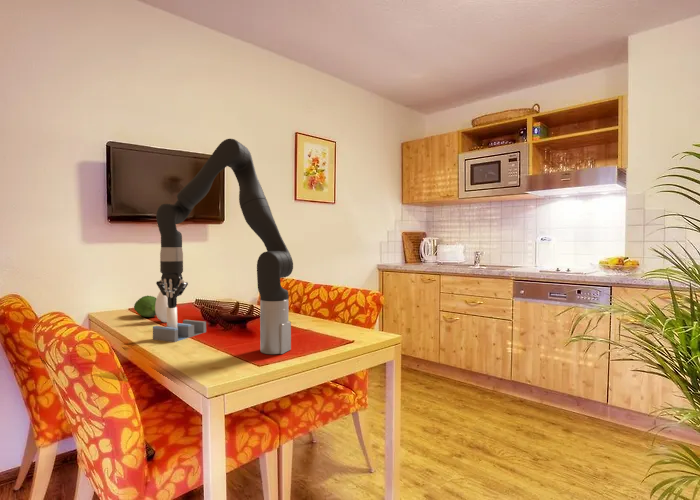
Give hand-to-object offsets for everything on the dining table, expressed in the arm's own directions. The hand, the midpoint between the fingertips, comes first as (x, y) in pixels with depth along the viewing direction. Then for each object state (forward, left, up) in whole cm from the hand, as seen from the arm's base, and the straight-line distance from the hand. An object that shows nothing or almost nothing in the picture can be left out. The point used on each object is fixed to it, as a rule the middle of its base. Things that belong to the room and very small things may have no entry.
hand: (172, 307), depth 144 cm
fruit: (+44, -29, -12) cm, 54 cm away
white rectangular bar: (0, 0, -11) cm, 11 cm away
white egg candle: (+27, -23, -12) cm, 38 cm away
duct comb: (0, -4, -12) cm, 13 cm away
